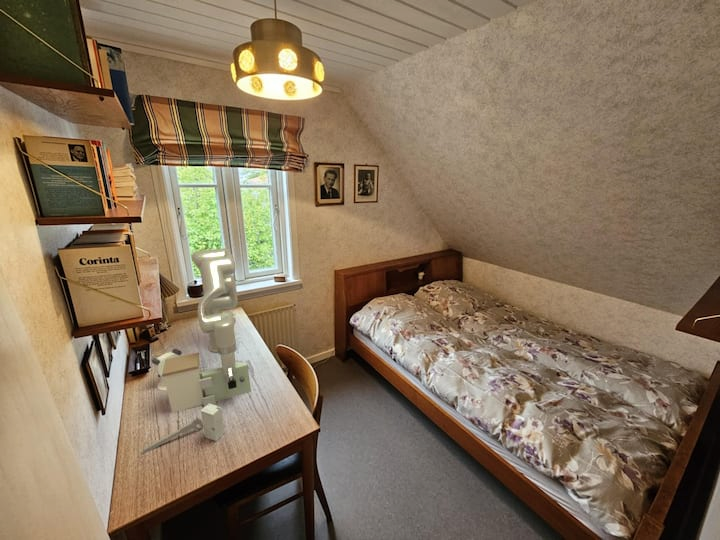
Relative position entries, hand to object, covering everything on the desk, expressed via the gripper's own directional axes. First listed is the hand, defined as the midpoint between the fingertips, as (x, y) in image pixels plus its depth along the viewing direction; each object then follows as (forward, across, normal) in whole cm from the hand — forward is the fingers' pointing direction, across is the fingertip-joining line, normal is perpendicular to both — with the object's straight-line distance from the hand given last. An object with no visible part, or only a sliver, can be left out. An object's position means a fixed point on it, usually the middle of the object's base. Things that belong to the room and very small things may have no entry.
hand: (232, 381), depth 137 cm
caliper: (+7, +17, -22) cm, 29 cm away
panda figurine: (+7, -21, -26) cm, 34 cm away
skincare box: (+7, +21, -8) cm, 24 cm away
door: (+7, 0, -2) cm, 7 cm away
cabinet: (+7, -3, -16) cm, 18 cm away
